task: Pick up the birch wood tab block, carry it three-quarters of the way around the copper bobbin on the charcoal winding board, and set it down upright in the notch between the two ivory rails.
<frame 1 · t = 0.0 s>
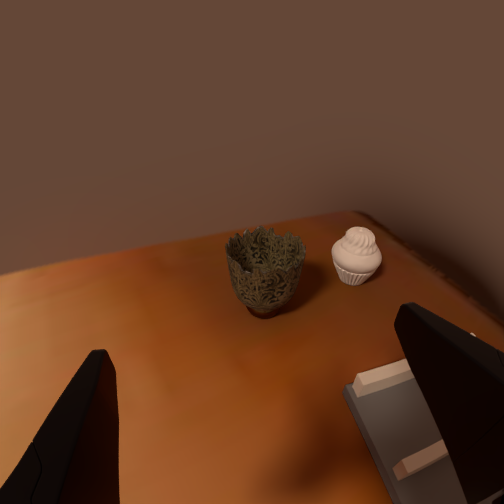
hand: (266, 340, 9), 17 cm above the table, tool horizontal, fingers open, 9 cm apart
muffin: (351, 279, 39), on the table
cup: (263, 310, 34), on the table
winding board: (469, 458, 17), on the table
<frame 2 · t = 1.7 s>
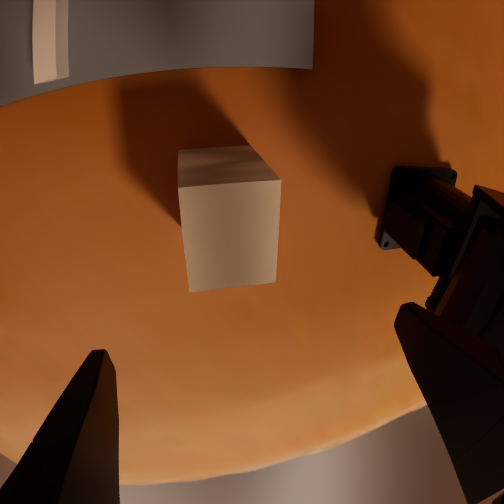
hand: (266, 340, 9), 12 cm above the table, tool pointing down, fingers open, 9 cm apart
tab block: (215, 188, 18), on the table
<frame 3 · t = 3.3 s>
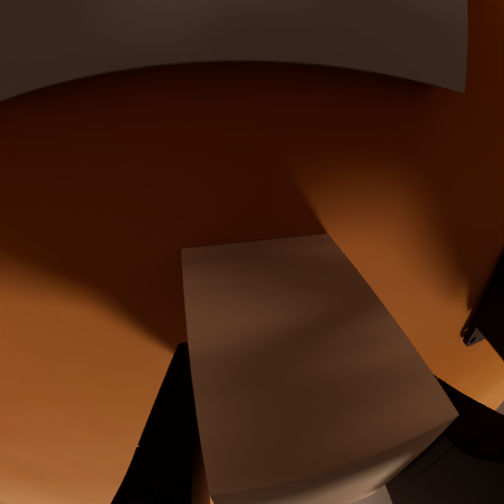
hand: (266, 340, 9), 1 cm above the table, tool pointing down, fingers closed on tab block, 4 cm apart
tab block: (256, 311, 10), on the table, touching gripper
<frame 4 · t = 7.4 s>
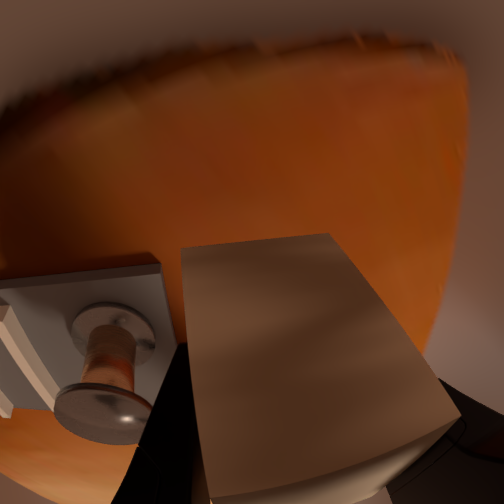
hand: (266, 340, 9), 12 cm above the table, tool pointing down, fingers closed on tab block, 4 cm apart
winding board: (57, 352, 23), on the table
bobbin: (113, 334, 22), resting on winding board
tab block: (256, 311, 10), point 11 cm above the table, touching gripper
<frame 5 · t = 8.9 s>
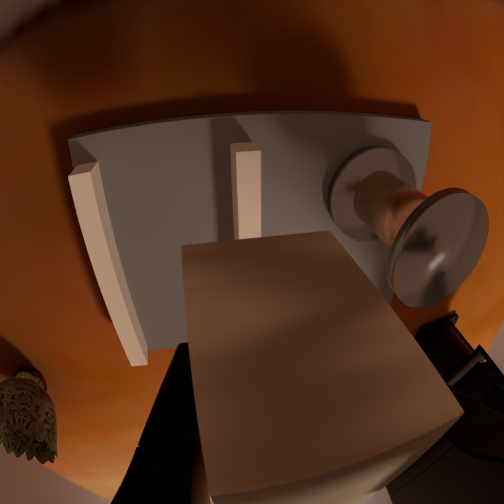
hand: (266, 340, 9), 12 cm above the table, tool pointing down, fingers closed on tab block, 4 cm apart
cup: (31, 374, 24), on the table
winding board: (269, 234, 21), on the table
bobbin: (371, 192, 20), resting on winding board
tab block: (257, 309, 10), point 11 cm above the table, touching gripper
when the fingers open (3 cm above the table, at t = 11.4 s): tab block drops 1 cm, resting on winding board.
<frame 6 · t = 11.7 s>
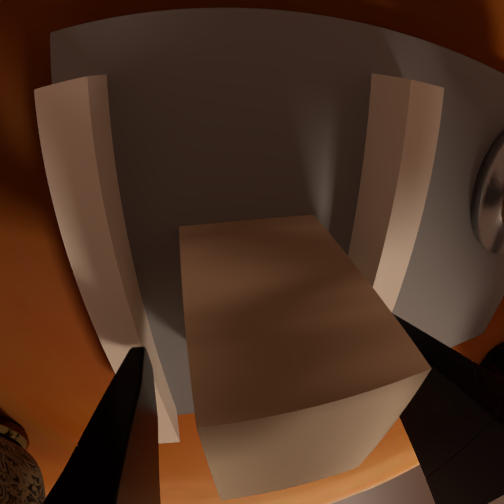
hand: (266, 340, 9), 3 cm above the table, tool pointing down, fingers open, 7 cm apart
cup: (8, 423, 15), on the table
winding board: (385, 241, 12), on the table
tab block: (248, 288, 11), point 1 cm above the table, touching winding board
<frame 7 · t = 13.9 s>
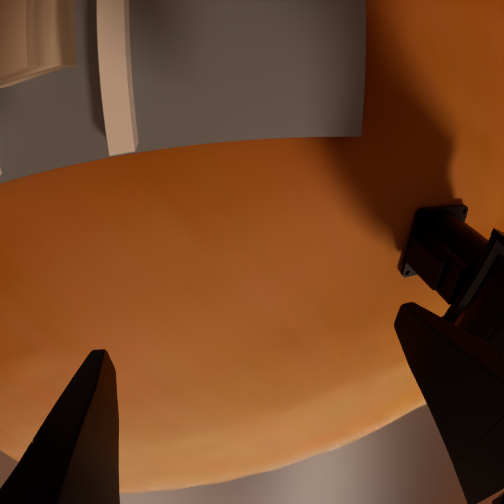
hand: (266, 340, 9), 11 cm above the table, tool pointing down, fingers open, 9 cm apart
winding board: (157, 0, 12), on the table
tab block: (38, 30, 10), point 1 cm above the table, touching winding board
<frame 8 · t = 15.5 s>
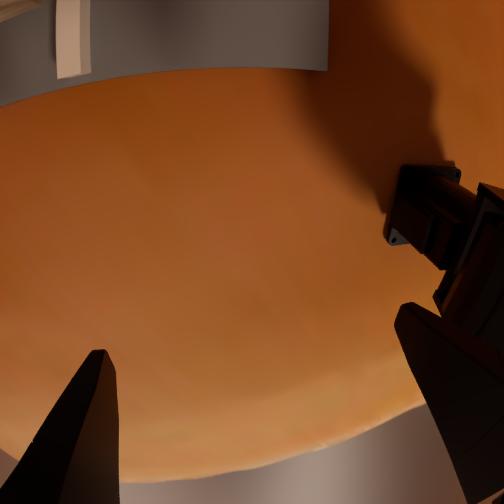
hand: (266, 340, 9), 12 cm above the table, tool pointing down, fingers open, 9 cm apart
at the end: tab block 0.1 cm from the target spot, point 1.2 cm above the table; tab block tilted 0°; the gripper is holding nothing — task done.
